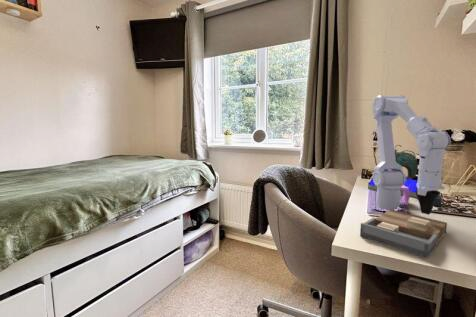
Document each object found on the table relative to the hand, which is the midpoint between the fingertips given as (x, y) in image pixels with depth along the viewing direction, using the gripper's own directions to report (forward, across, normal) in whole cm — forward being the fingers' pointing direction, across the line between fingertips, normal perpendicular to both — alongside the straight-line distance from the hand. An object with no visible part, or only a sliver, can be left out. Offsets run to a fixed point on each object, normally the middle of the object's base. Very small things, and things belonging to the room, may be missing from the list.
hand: (425, 213), depth 80 cm
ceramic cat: (+5, +80, +32) cm, 86 cm away
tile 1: (+4, -14, +6) cm, 16 cm away
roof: (+6, +44, +22) cm, 50 cm away
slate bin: (+6, -15, +3) cm, 16 cm away
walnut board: (+6, -3, +3) cm, 7 cm away
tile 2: (+3, -7, 0) cm, 7 cm away
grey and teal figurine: (+6, +34, +5) cm, 34 cm away
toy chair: (+6, +24, +16) cm, 29 cm away
